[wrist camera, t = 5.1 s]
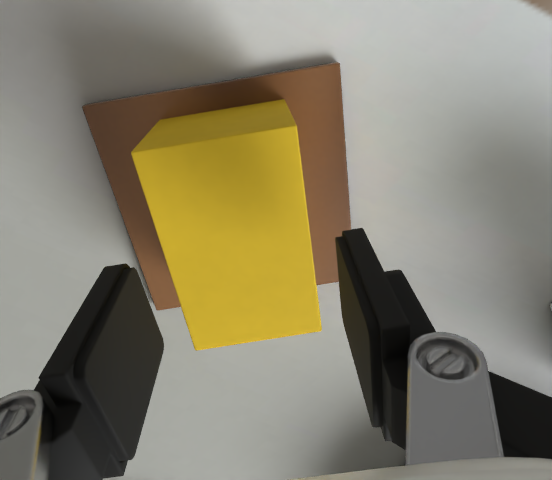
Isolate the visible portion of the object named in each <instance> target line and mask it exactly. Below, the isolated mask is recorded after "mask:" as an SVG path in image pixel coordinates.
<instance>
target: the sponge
mask: <svg viewBox="0 0 552 480" xmlns="http://www.w3.org/2000/svg"><path fill="white" fill-rule="evenodd" d="M131 155H132V158H133V161H134V164H135V167H136V170H137V173H138V177H139V180H140V183H141V186H142V189H143V192H144V195H145V198H146V201H147V204H148V207H149V210H150V213H151V216H152V219H153V222H154V225H155V229H156V232H157V235H158V238H159V241H160V244H161V247H162V250H163V253H164V256H165V259H166V262H167V265H168V268H169V271H170V274H171V277H172V280H173V284H174V287H175V290H176V293H177V296H178V299H179V302H180V305H181V308H182V311H183V314H184V317H185V320H186V323H187V326H188V329H189V332H190V336H191V339H192V342H193V345H194V348H195V350H203V349H209V348H216V347H222V346H228V345H235V344H241V343H248V342H254V341H260V340H267V339H273V338H280V337H286V336H292V335H299V334H305V333H312V332H318V331H321V330H322V327H321V319H320V311H319V302H318V294H317V286H316V278H315V270H314V262H313V253H312V245H311V237H310V229H309V221H308V213H307V205H306V196H305V188H304V180H303V172H302V164H301V156H300V147H299V139H298V131H297V125H296V123H295V121H294V119H293V117H292V115H291V112H290V110H289V108H288V106H287V104H286V102H285V100H284V99H282V100H276V101H270V102H264V103H258V104H252V105H246V106H240V107H234V108H228V109H221V110H215V111H209V112H203V113H197V114H191V115H185V116H179V117H173V118H167V119H161V120H159V121H158V122H157V123H156V125H155V126H154V127H153V128H152V129H151V130H150V131H149V132H148V134H147V135H146V136H145V137H144V138H143V139H142V140H141V141H140V143H139V144H138V145H137V146H136V147H135V148H134V149H133V151H132V152H131Z"/></svg>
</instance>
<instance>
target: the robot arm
mask: <svg viewBox="0 0 552 480" xmlns="http://www.w3.org/2000/svg"><path fill="white" fill-rule="evenodd" d="M335 243H336V254H337V266H338V277H339V288H340V299H341V310H342V318H343V323H344V327H345V331H346V335H347V338H348V342H349V345H350V349H351V352H352V356H353V360H354V363H355V367H356V370H357V374H358V378H359V381H360V385H361V388H362V392H363V395H364V399H365V403H366V406H367V410H368V413H369V417H370V421H371V424H372V427H373V428H374V427H381V429H382V433H383V436H384V439H385V441H391V440H392V442H393V443H395V444H397V445H398V446H400V447H402V448H403V449H405V450H406V463H405V466H397V467H388V468H378V469H370V470H362V471H354V472H346V473H338V474H330V475H322V476H314V477H306V478H298V479H289V480H552V398H551V397H549V396H547V395H544V394H542V393H539V392H537V391H535V390H532V389H530V388H527V387H525V386H523V385H520V384H518V383H516V382H513V381H511V380H508V379H506V378H504V377H501V376H499V375H496V374H494V373H492V372H489V371H488V367H487V362H486V359H485V357H484V354H483V352H482V351H481V350H480V349H479V348H478V347H477V345H475V344H474V343H472V342H471V341H469V340H468V339H466V338H464V337H461V336H459V335H456V334H452V333H446V332H436V331H435V329H434V327H433V326H432V324H431V322H430V320H429V318H428V317H427V315H426V313H425V311H424V309H423V308H422V306H421V304H420V302H419V301H418V299H417V297H416V295H415V293H414V292H413V290H412V288H411V286H410V285H409V283H408V281H407V279H406V277H405V276H404V274H403V272H402V271H401V270H393V271H386V272H384V270H383V268H382V266H381V264H380V262H379V260H378V258H377V256H376V254H375V252H374V250H373V248H372V246H371V244H370V242H369V240H368V238H367V236H366V234H365V232H364V230H363V228H359V229H352V230H345V231H342V236H340V237H335ZM163 350H164V343H163V338H162V335H161V333H160V330H159V327H158V325H157V322H156V320H155V317H154V314H153V312H152V309H151V306H150V304H149V301H148V299H147V296H146V293H145V291H144V288H143V286H142V283H141V280H140V278H139V275H138V272H137V270H136V269H135V268H130V267H129V266H128V265H127V264H120V265H113V266H107V267H105V268H104V269H103V270H102V272H101V274H100V275H99V277H98V279H97V280H96V282H95V284H94V285H93V287H92V289H91V290H90V292H89V294H88V295H87V297H86V299H85V300H84V302H83V304H82V305H81V307H80V309H79V311H78V312H77V314H76V316H75V317H74V319H73V321H72V322H71V324H70V326H69V327H68V329H67V331H66V332H65V334H64V336H63V337H62V339H61V341H60V342H59V344H58V346H57V347H56V349H55V351H54V352H53V354H52V356H51V357H50V359H49V361H48V363H47V364H46V366H45V368H44V369H43V371H42V373H41V374H40V376H39V379H40V381H39V382H38V384H37V386H36V387H35V389H34V390H21V391H17V392H14V393H11V394H9V395H6V396H4V397H2V398H0V480H102V479H103V478H110V477H118V476H123V475H124V472H125V468H126V465H127V461H128V460H131V459H133V457H134V456H135V453H136V449H137V445H138V442H139V438H140V435H141V431H142V427H143V424H144V420H145V416H146V413H147V409H148V405H149V402H150V398H151V394H152V391H153V387H154V384H155V380H156V376H157V373H158V369H159V365H160V362H161V358H162V354H163Z"/></svg>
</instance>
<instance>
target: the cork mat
mask: <svg viewBox="0 0 552 480" xmlns="http://www.w3.org/2000/svg"><path fill="white" fill-rule="evenodd" d="M282 99H284V100H285V102H286V104H287V106H288V108H289V110H290V112H291V115H292V117H293V119H294V121H295V123H296V125H297V131H298V139H299V147H300V156H301V164H302V172H303V180H304V188H305V196H306V205H307V213H308V221H309V229H310V237H311V245H312V253H313V262H314V270H315V278H316V285H320V284H327V283H333V282H339V277H338V266H337V254H336V243H335V237H340V236H342V231H345V230H351V220H350V206H349V191H348V177H347V162H346V148H345V133H344V119H343V104H342V89H341V75H340V63H338V62H334V63H329V64H323V65H317V66H311V67H305V68H299V69H293V70H287V71H281V72H275V73H269V74H263V75H257V76H251V77H246V78H240V79H234V80H228V81H222V82H216V83H210V84H204V85H198V86H192V87H186V88H180V89H174V90H168V91H163V92H157V93H151V94H145V95H139V96H133V97H127V98H121V99H115V100H109V101H103V102H97V103H91V104H86V105H84V106H82V108H83V111H84V114H85V116H86V119H87V122H88V124H89V127H90V130H91V133H92V135H93V138H94V141H95V144H96V146H97V149H98V152H99V154H100V157H101V160H102V163H103V165H104V168H105V171H106V173H107V176H108V179H109V182H110V184H111V187H112V190H113V193H114V195H115V198H116V201H117V203H118V206H119V209H120V212H121V214H122V217H123V220H124V223H125V225H126V228H127V231H128V233H129V236H130V239H131V242H132V244H133V247H134V250H135V252H136V255H137V258H138V261H139V263H140V266H141V269H142V272H143V274H144V277H145V280H146V282H147V285H148V288H149V291H150V293H151V296H152V299H153V302H154V304H155V307H156V310H163V309H169V308H176V307H181V305H180V302H179V299H178V296H177V293H176V290H175V287H174V284H173V280H172V277H171V274H170V271H169V268H168V265H167V262H166V259H165V256H164V253H163V250H162V247H161V244H160V241H159V238H158V235H157V232H156V229H155V225H154V222H153V219H152V216H151V213H150V210H149V207H148V204H147V201H146V198H145V195H144V192H143V189H142V186H141V183H140V180H139V177H138V173H137V170H136V167H135V164H134V161H133V158H132V155H131V152H132V151H133V149H134V148H135V147H136V146H137V145H138V144H139V143H140V141H141V140H142V139H143V138H144V137H145V136H146V135H147V134H148V132H149V131H150V130H151V129H152V128H153V127H154V126H155V125H156V123H157V122H158V121H159V120H161V119H167V118H173V117H179V116H185V115H191V114H197V113H203V112H209V111H215V110H221V109H228V108H234V107H240V106H246V105H252V104H258V103H264V102H270V101H276V100H282Z"/></svg>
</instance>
